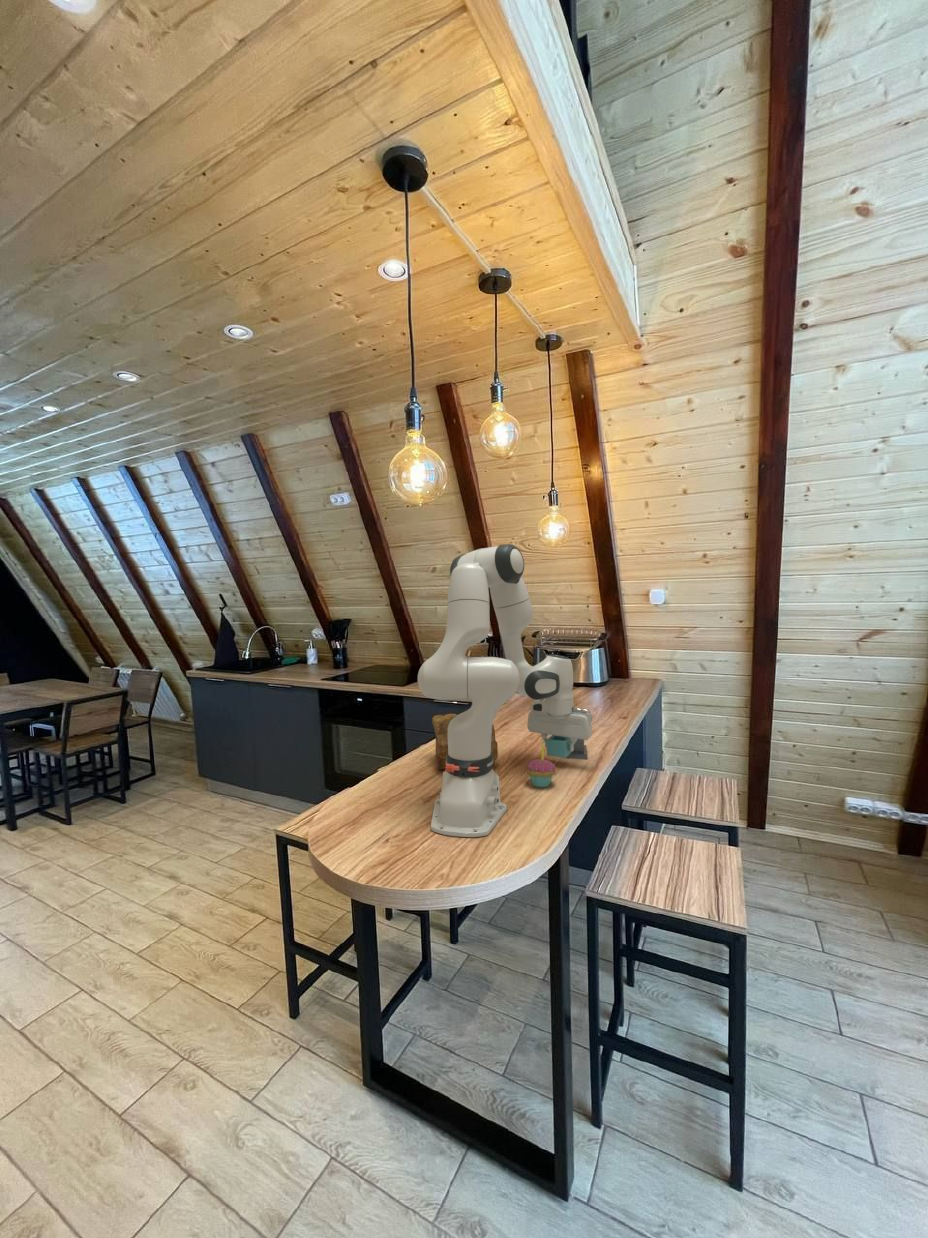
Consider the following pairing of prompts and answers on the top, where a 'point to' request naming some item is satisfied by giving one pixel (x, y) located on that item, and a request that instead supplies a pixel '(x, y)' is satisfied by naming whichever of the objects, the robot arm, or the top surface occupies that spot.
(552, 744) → the teal hollow box
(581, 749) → the grey pedestal stand
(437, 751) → the rough brown rock
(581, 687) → the top surface
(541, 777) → the cupcake
